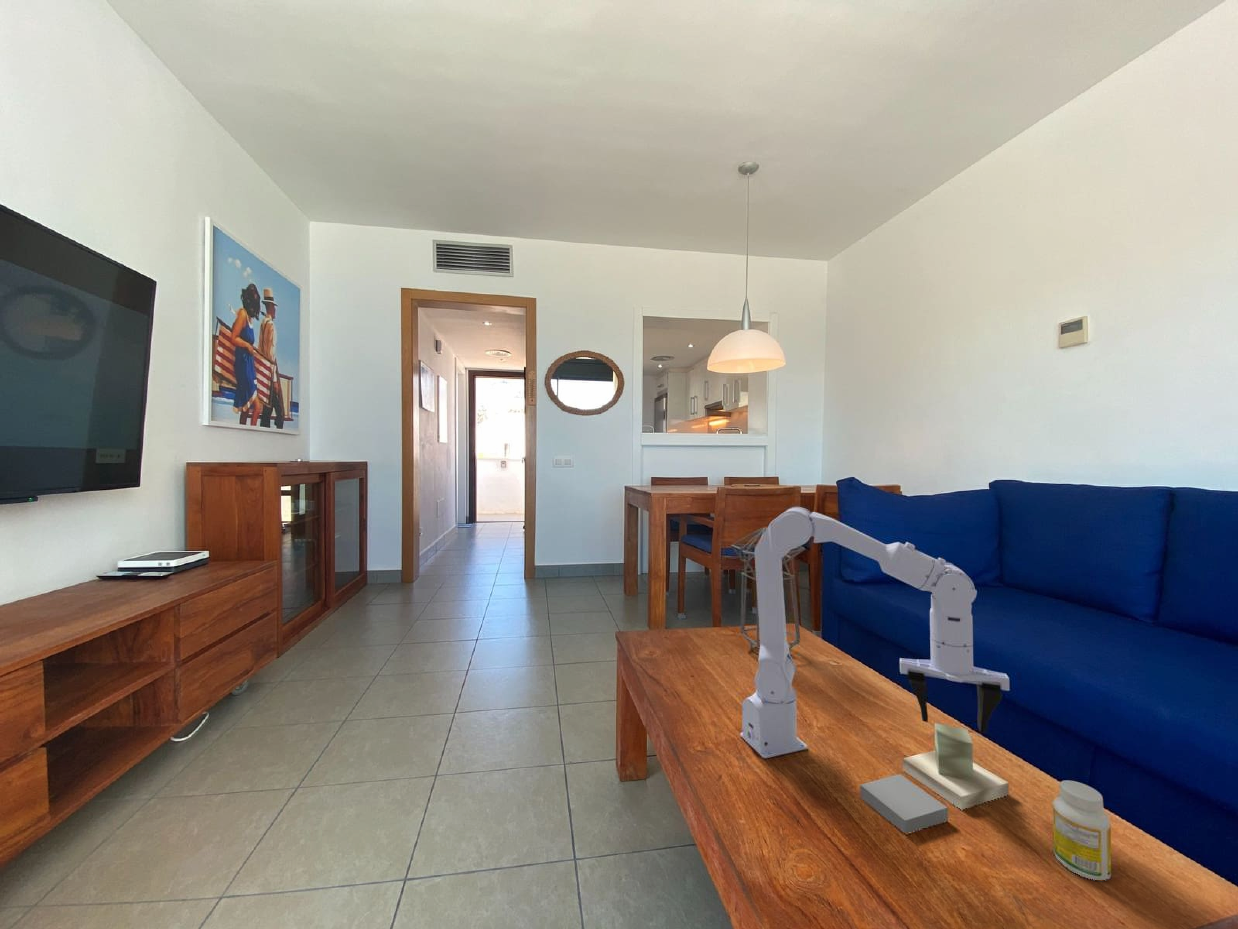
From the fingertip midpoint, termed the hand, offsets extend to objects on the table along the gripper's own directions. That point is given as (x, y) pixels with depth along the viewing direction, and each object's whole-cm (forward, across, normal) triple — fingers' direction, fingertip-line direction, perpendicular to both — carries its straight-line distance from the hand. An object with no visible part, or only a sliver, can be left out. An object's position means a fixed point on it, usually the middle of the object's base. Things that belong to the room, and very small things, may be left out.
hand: (952, 724), depth 78 cm
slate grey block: (+9, -8, -11) cm, 16 cm away
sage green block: (+7, 0, 0) cm, 7 cm away
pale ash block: (+9, 0, 0) cm, 9 cm away
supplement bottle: (+10, +12, -12) cm, 19 cm away
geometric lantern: (+10, -37, +42) cm, 57 cm away
